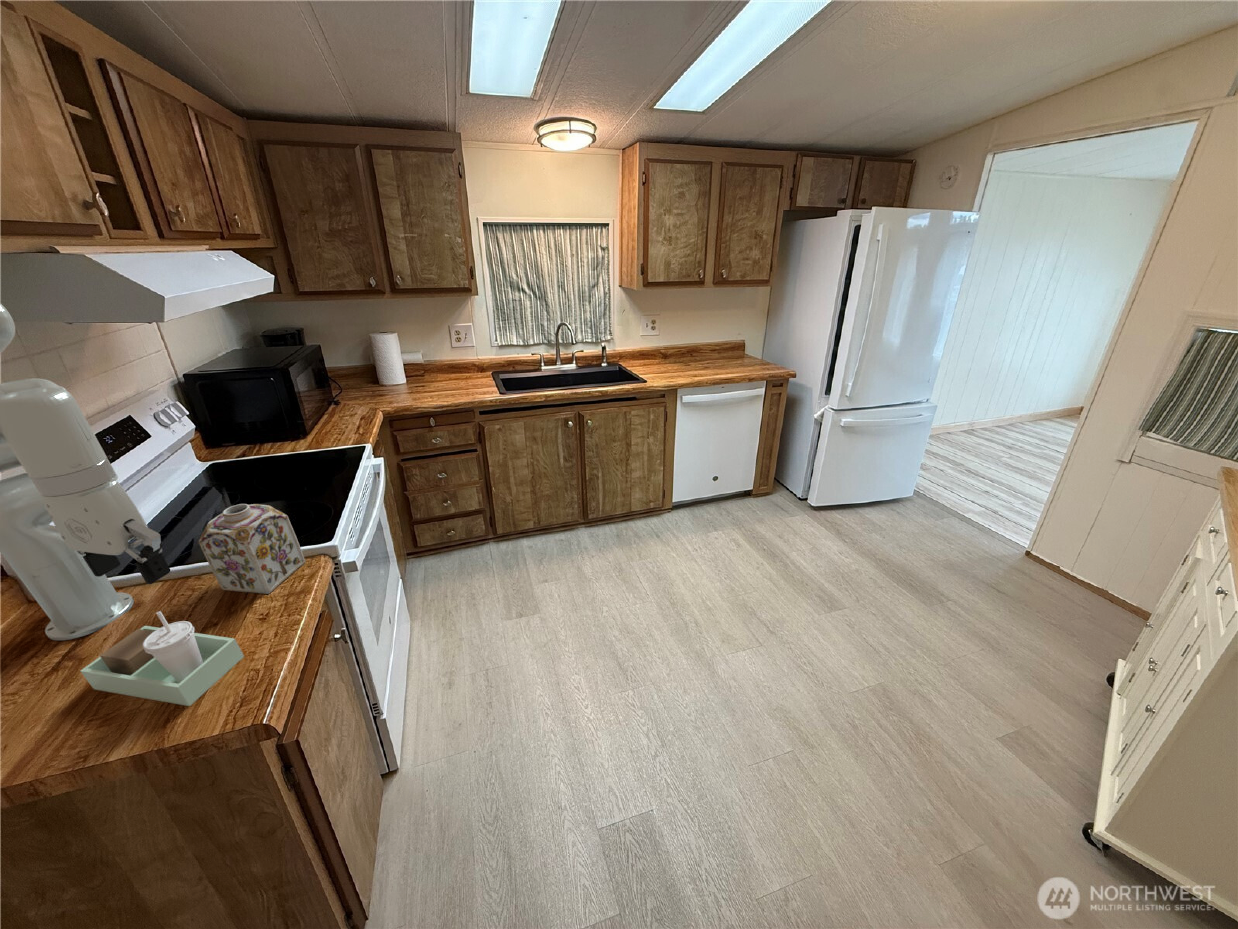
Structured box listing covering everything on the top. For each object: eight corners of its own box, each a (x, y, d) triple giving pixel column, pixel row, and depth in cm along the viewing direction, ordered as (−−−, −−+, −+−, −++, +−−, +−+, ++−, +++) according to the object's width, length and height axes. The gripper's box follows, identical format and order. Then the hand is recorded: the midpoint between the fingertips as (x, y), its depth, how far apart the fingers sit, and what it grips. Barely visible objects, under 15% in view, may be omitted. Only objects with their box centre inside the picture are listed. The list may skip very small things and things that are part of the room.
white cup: (223, 659, 86) (191, 600, 80) (197, 690, 80) (159, 628, 74) (187, 661, 86) (152, 602, 80) (158, 692, 80) (117, 631, 74)
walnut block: (117, 680, 83) (99, 655, 80) (153, 653, 88) (137, 629, 85) (145, 685, 82) (128, 660, 79) (179, 657, 87) (165, 633, 84)
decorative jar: (220, 592, 104) (185, 522, 96) (263, 559, 114) (234, 493, 106) (270, 595, 102) (238, 525, 94) (308, 562, 112) (282, 496, 105)
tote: (95, 691, 81) (80, 670, 79) (157, 645, 90) (144, 625, 88) (191, 708, 78) (177, 687, 76) (245, 658, 87) (234, 638, 85)
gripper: (-7, 485, 65) (61, 584, 72) (94, 496, 62) (153, 597, 69) (60, 461, 71) (116, 554, 79) (154, 469, 68) (203, 565, 76)
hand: (133, 574), depth 74 cm, fingers open, 9 cm apart
